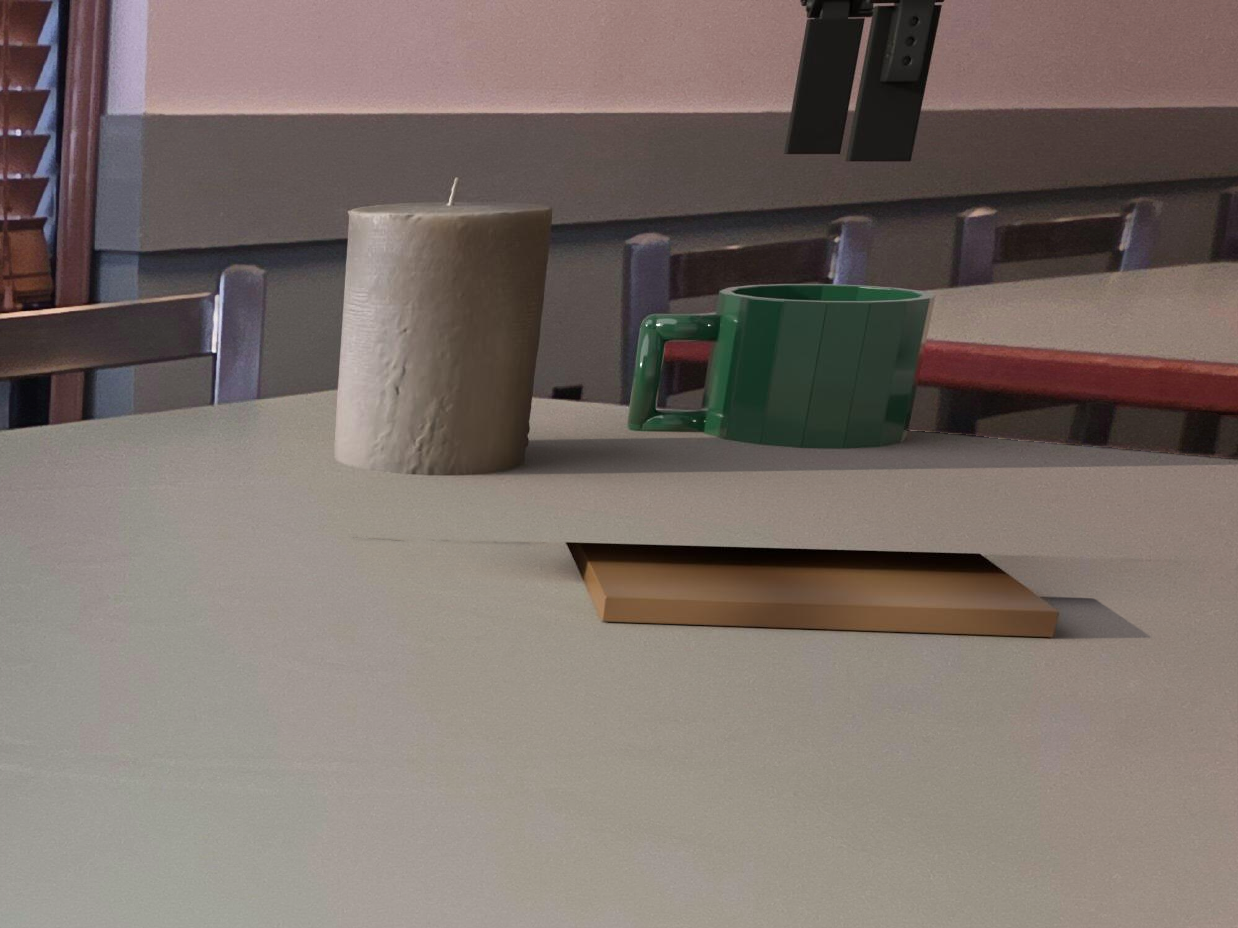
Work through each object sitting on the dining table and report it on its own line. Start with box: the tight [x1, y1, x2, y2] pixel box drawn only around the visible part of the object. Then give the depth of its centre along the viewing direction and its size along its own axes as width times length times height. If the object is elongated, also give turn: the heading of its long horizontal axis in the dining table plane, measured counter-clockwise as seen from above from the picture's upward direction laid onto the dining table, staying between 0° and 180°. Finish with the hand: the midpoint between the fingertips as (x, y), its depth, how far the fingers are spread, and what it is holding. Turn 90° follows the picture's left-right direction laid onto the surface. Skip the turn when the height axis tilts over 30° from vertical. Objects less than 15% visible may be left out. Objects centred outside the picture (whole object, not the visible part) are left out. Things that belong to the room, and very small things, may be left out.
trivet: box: [565, 541, 1060, 638], centre depth 72 cm, size 16×16×1 cm
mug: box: [626, 283, 936, 450], centre depth 93 cm, size 14×10×9 cm
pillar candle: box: [333, 177, 553, 476], centre depth 86 cm, size 10×10×15 cm
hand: (842, 158), depth 88 cm, fingers open, 13 cm apart
